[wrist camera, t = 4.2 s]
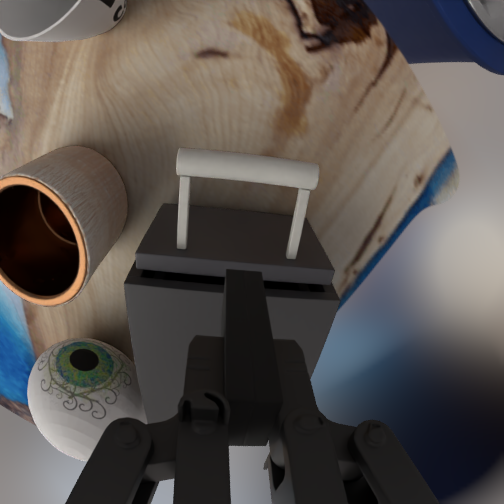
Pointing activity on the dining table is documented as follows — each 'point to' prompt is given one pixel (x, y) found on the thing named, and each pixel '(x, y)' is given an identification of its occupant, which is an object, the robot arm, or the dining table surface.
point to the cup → (58, 19)
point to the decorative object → (82, 393)
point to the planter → (58, 223)
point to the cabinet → (207, 329)
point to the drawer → (236, 227)
